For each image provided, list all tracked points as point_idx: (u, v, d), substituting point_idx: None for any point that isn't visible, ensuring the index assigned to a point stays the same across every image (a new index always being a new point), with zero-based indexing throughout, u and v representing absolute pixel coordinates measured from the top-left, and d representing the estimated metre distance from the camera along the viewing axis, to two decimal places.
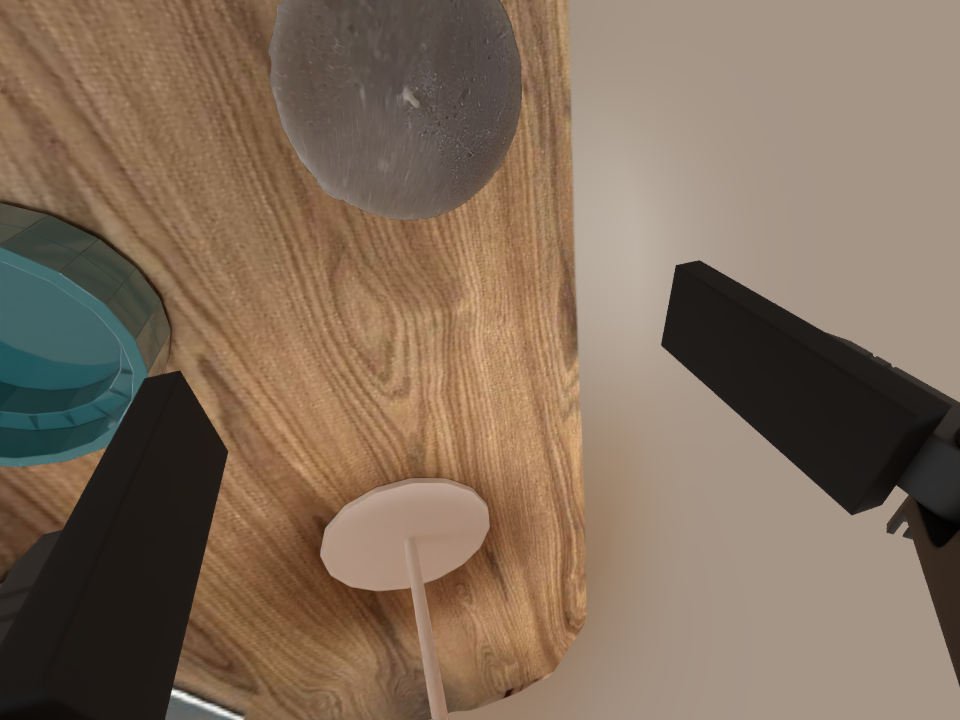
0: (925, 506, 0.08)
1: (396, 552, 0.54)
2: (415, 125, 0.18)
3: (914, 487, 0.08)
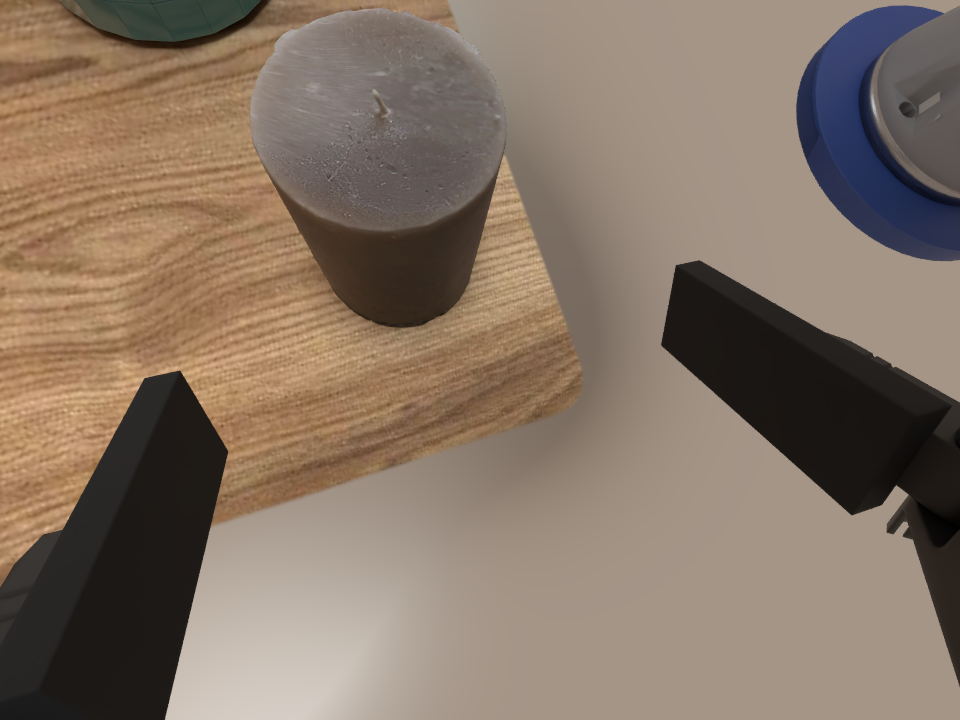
0: (925, 506, 0.08)
1: None
2: (356, 119, 0.17)
3: (914, 487, 0.08)
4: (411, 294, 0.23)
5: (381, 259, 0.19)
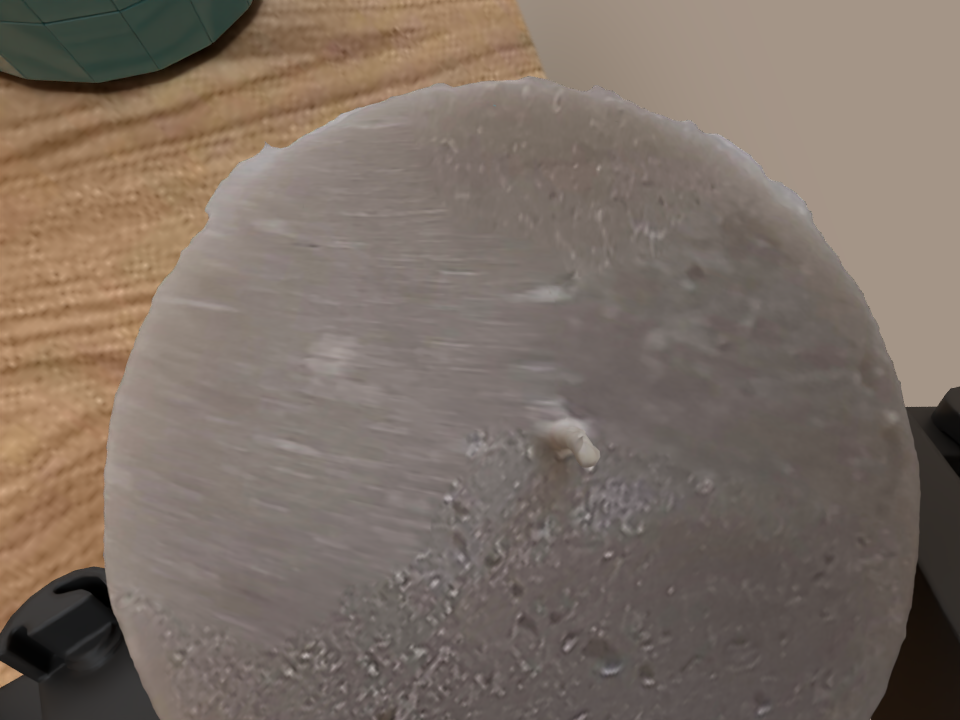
0: None
1: None
2: (478, 468, 0.05)
3: None
4: None
5: None
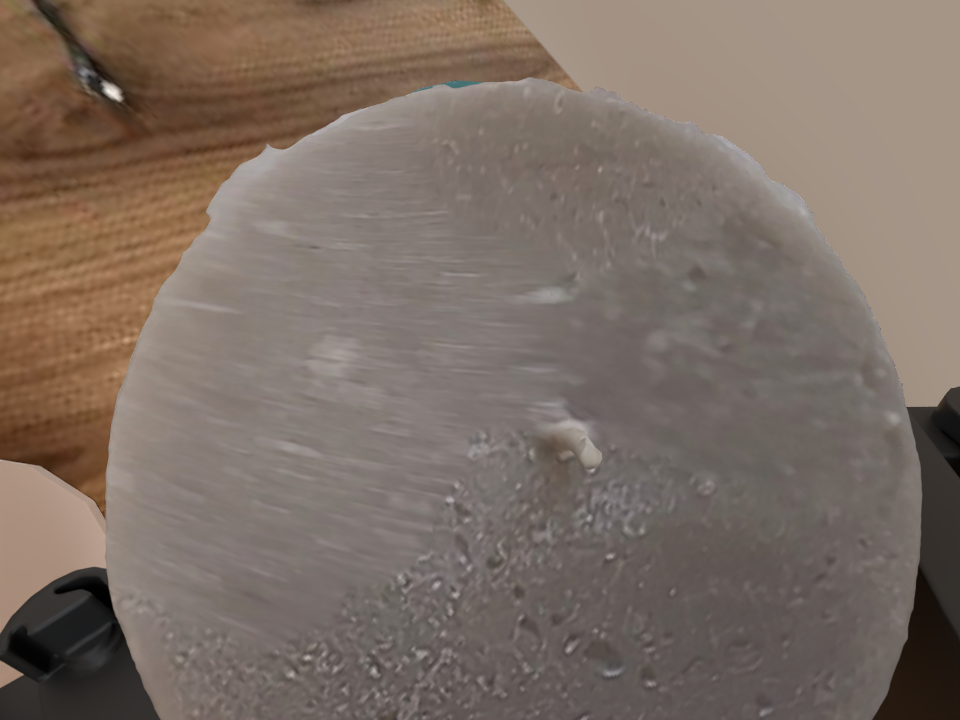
0: None
1: None
2: (480, 469, 0.05)
3: None
4: None
5: None
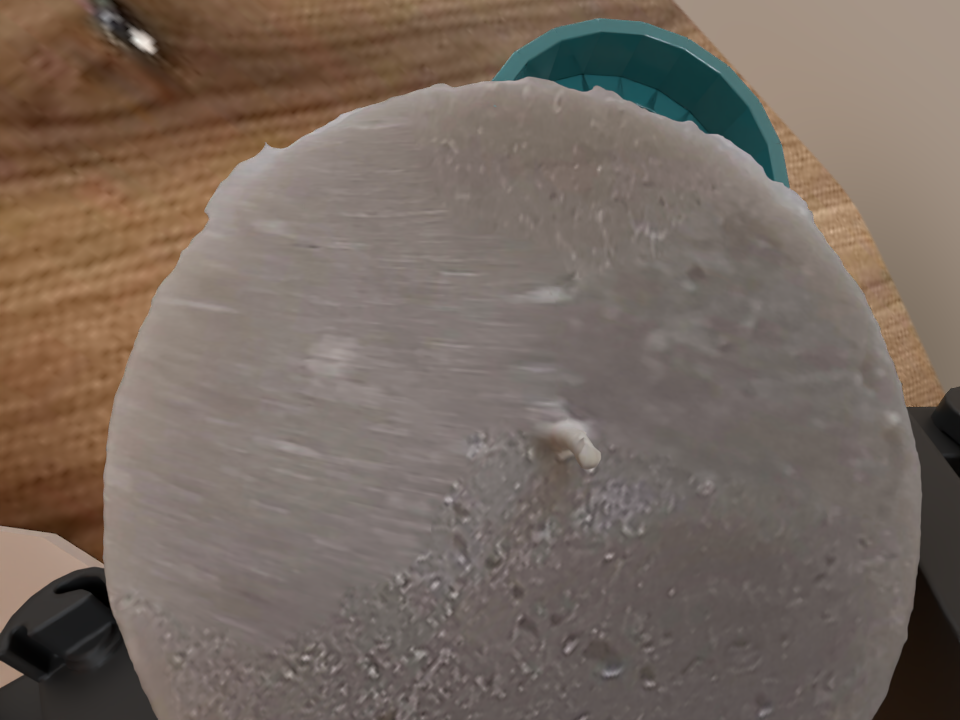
0: None
1: None
2: (478, 469, 0.05)
3: None
4: None
5: None
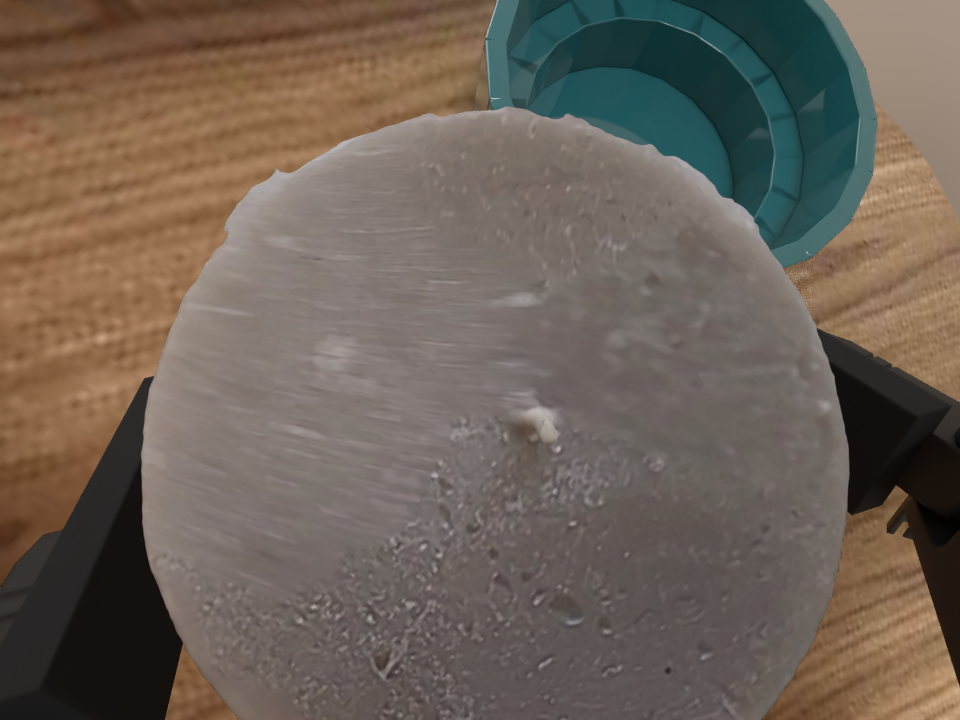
0: (925, 506, 0.08)
1: None
2: (460, 450, 0.06)
3: (914, 487, 0.08)
4: None
5: None
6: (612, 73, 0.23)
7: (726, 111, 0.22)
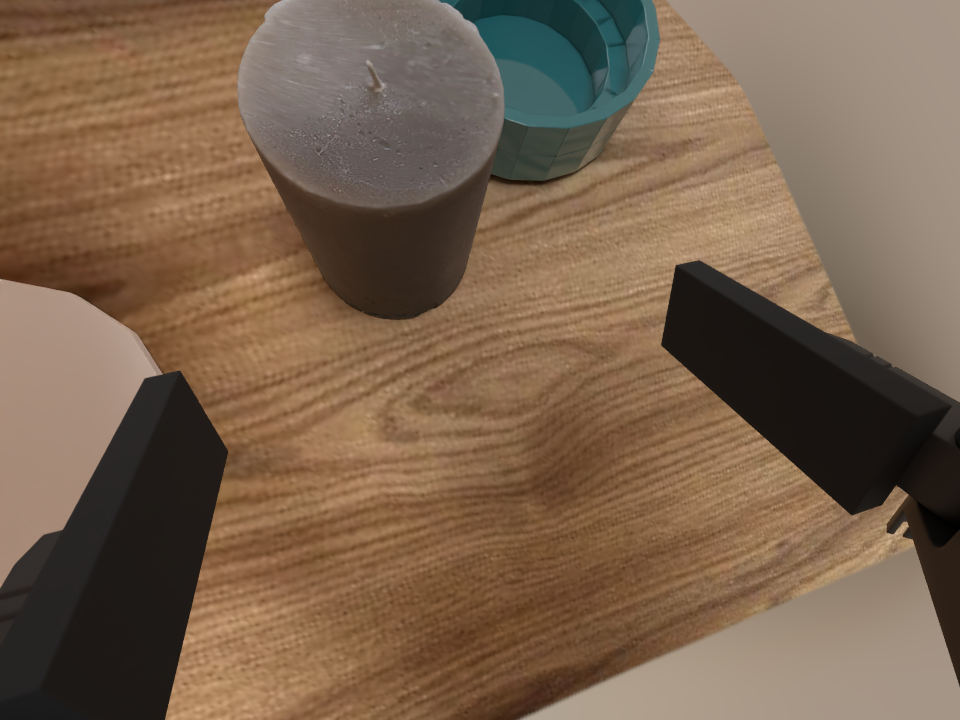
0: (925, 506, 0.08)
1: None
2: (348, 92, 0.16)
3: (914, 487, 0.08)
4: (403, 282, 0.23)
5: (372, 240, 0.18)
6: (511, 19, 0.34)
7: (587, 44, 0.33)
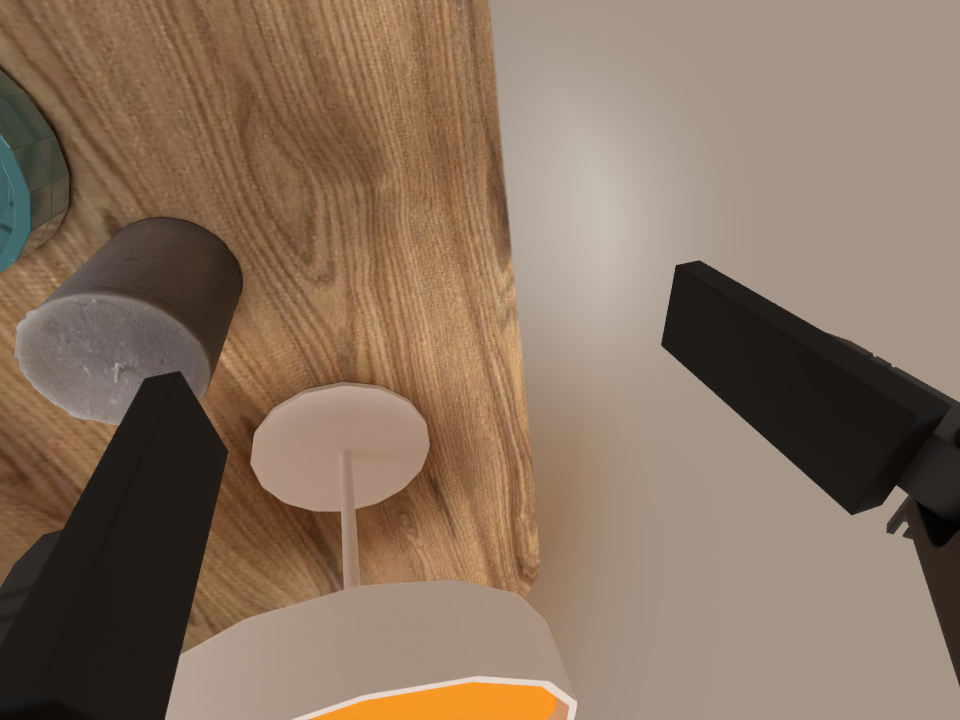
0: (925, 506, 0.08)
1: (332, 467, 0.53)
2: (130, 380, 0.28)
3: (914, 487, 0.08)
4: (226, 300, 0.34)
5: (218, 346, 0.31)
6: None
7: None
